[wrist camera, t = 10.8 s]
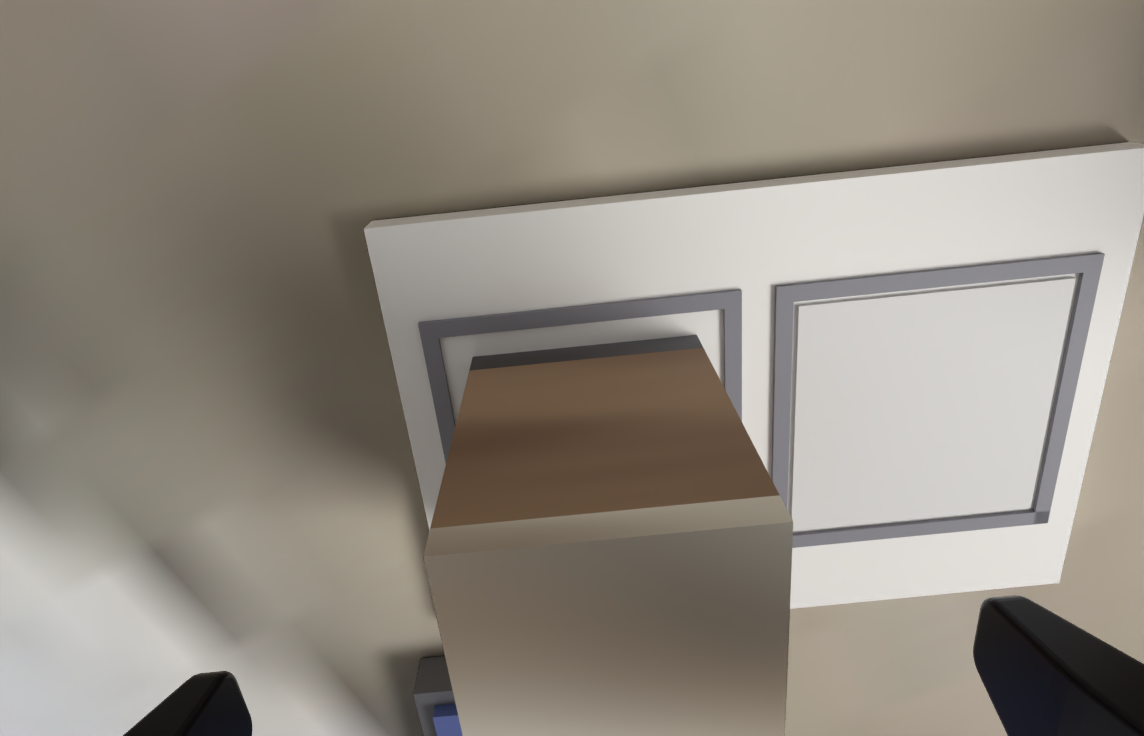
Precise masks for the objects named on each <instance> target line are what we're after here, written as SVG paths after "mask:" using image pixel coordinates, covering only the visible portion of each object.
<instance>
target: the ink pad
mask: <svg viewBox="0 0 1144 736" xmlns="http://www.w3.org/2000/svg"><path fill="white" fill-rule="evenodd" d="M413 696H414V700H415V704H416V708H417V711H418V715H419V719H420V723H421V727H422V731H423V735H424V736H463V735H462V730H461V726H460V721H459V717H458V712H457V708H456V703H455V699H454V694H453V690H452V685H451V681H450V676H449V672H448V667H447V663H446V658H445V656H441V657H430V658H421V659H420V664H419V669H418V673H417V678H416V683H415V688H414V692H413Z"/></svg>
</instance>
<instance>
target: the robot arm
mask: <svg viewBox="0 0 1144 736" xmlns="http://www.w3.org/2000/svg"><path fill="white" fill-rule="evenodd" d="M973 655H974V661H975V665H976V668H977V671H978V673H979V675H980V677H981V679H982V682H983V684H984V686H985V688H986V690H987V692H988V694H989V697H990V699H991V701H992V703H993V705H994V707H995V709H996V711H997V714H998V716H999V718H1000V720H1001V722H1002V724H1003V726H1004V728H1005V731H1006V733H1007V735H1008V736H1144V664H1143V663H1141V662H1139V661H1137V660H1136V659H1134V658H1132V657H1130V656H1129V655H1127V654H1125V653H1123V652H1122V651H1120V650H1118V649H1116V648H1114V647H1113V646H1111V645H1109V644H1107V643H1106V642H1104V641H1102V640H1100V639H1098V638H1097V637H1095V636H1093V635H1091V634H1090V633H1088V632H1086V631H1084V630H1082V629H1081V628H1079V627H1077V626H1075V625H1074V624H1072V623H1070V622H1068V621H1067V620H1065V619H1063V618H1061V617H1059V616H1058V615H1056V614H1054V613H1052V612H1051V611H1049V610H1047V609H1045V608H1043V607H1042V606H1040V605H1038V604H1036V603H1035V602H1033V601H1031V600H1029V599H1027V598H1025V597H1022V596H1016V595H1014V596H1004V597H993V598H988V599H986V600H985V601H984V602H983V603H982V605H981V608H980V613H979V619H978V624H977V630H976V636H975V641H974V647H973ZM123 736H252V721H251V716H250V714H249V711H248V708H247V706H246V703H245V701H244V698H243V696H242V693H241V691H240V688H239V686H238V683H237V681H236V679H235V677H234V675H233V674H231V673H230V672H227V671H220V672H210V673H200V674H197V675H194V676H192V677H191V678H190V679H188V680H187V681H186V682H185V683H183V684H182V685H181V686H180V687H179V688H178V689H176V690H175V691H174V692H173V693H172V694H171V695H169V696H168V697H167V698H166V699H165V700H164V701H163V702H161V703H160V704H159V705H158V706H157V707H156V708H154V709H153V710H152V711H151V712H150V713H149V714H147V715H146V716H145V717H144V718H143V719H142V720H140V721H139V722H138V723H137V724H136V725H135V726H133V727H132V728H131V729H130V730H129V731H128V732H126V733H125V734H124V735H123Z"/></svg>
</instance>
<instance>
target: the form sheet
mask: <svg viewBox="0 0 1144 736" xmlns="http://www.w3.org/2000/svg"><path fill="white" fill-rule="evenodd" d="M1143 215H1144V144H1142V143H1136V142H1126V143H1116V144H1106V145H1097V146H1087V147H1078V148H1068V149H1058V150H1049V151H1039V152H1029V153H1020V154H1010V155H1001V156H991V157H981V158H972V159H962V160H952V161H943V162H933V163H924V164H914V165H904V166H895V167H885V168H875V169H866V170H856V171H847V172H837V173H827V174H818V175H808V176H798V177H789V178H779V179H770V180H760V181H750V182H741V183H731V184H721V185H712V186H702V187H693V188H683V189H673V190H664V191H654V192H644V193H635V194H625V195H616V196H606V197H596V198H587V199H577V200H567V201H558V202H548V203H539V204H529V205H519V206H510V207H500V208H490V209H481V210H471V211H462V212H452V213H442V214H433V215H423V216H413V217H404V218H394V219H385V220H375V221H371V222H370V223H369V224H368V225H367V226H366V227H365V228H364V233H365V237H366V242H367V247H368V251H369V256H370V260H371V265H372V269H373V274H374V279H375V283H376V288H377V292H378V297H379V302H380V306H381V311H382V315H383V320H384V324H385V329H386V334H387V338H388V343H389V347H390V352H391V357H392V361H393V366H394V370H395V375H396V379H397V384H398V389H399V393H400V398H401V402H402V407H403V411H404V416H405V421H406V425H407V430H408V434H409V439H410V444H411V448H412V453H413V457H414V462H415V466H416V471H417V476H418V480H419V485H420V489H421V494H422V499H423V503H424V508H425V512H426V517H427V521H428V526H429V531H430V527H431V523H432V519H433V514H434V510H435V506H436V502H437V498H438V494H439V490H440V486H441V482H442V478H443V474H444V470H445V466H446V462H447V458H448V454H449V450H450V446H451V442H452V438H453V434H454V430H455V426H456V422H457V418H458V414H459V410H460V406H461V402H462V398H463V393H464V389H465V385H466V381H467V377H468V373H469V369H470V365H471V361H472V357H475V356H486V355H496V354H506V353H516V352H526V351H537V350H547V349H557V348H567V347H577V346H588V345H598V344H608V343H618V342H628V341H639V340H649V339H659V338H669V337H679V336H690V335H697V336H698V338H699V340H700V342H701V344H702V346H703V348H704V350H705V352H706V354H707V356H708V358H709V359H710V361H711V363H712V365H713V367H714V369H715V371H716V373H717V375H718V377H719V379H720V381H721V383H722V385H723V387H724V388H725V390H726V392H727V394H728V396H729V398H730V400H731V402H732V404H733V406H734V408H735V410H736V412H737V414H738V416H739V418H740V419H741V421H742V423H743V425H744V427H745V429H746V431H747V433H748V435H749V437H750V439H751V441H752V443H753V445H754V447H755V448H756V450H757V452H758V454H759V456H760V458H761V460H762V462H763V464H764V466H765V468H766V470H767V472H768V474H769V476H770V477H771V479H772V481H773V483H774V485H775V487H776V489H777V491H778V493H779V495H780V497H781V499H782V501H783V503H784V505H785V506H786V508H787V510H788V512H789V514H790V516H791V518H792V520H793V545H792V570H791V595H790V609H793V608H804V607H814V606H824V605H835V604H845V603H855V602H866V601H876V600H887V599H897V598H907V597H918V596H928V595H939V594H949V593H959V592H970V591H980V590H991V589H1001V588H1011V587H1022V586H1032V585H1043V584H1053V583H1059V581H1060V577H1061V572H1062V568H1063V564H1064V559H1065V555H1066V551H1067V546H1068V542H1069V538H1070V533H1071V529H1072V524H1073V520H1074V516H1075V511H1076V507H1077V503H1078V498H1079V494H1080V490H1081V485H1082V481H1083V477H1084V472H1085V468H1086V464H1087V459H1088V455H1089V450H1090V446H1091V442H1092V437H1093V433H1094V429H1095V424H1096V420H1097V416H1098V411H1099V407H1100V403H1101V398H1102V394H1103V390H1104V385H1105V381H1106V376H1107V372H1108V368H1109V363H1110V359H1111V355H1112V350H1113V346H1114V342H1115V337H1116V333H1117V329H1118V324H1119V320H1120V316H1121V311H1122V307H1123V302H1124V298H1125V294H1126V289H1127V285H1128V281H1129V276H1130V272H1131V268H1132V263H1133V259H1134V255H1135V250H1136V246H1137V242H1138V237H1139V233H1140V228H1141V224H1142V220H1143Z"/></svg>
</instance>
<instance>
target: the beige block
mask: <svg viewBox="0 0 1144 736" xmlns="http://www.w3.org/2000/svg"><path fill="white" fill-rule="evenodd" d="M792 545H793V520H792V518H791V516H790V514H789V512H788V510H787V508H786V506H785V505H784V503H783V501H782V499H781V497H780V495H779V493H778V491H777V489H776V487H775V485H774V483H773V481H772V479H771V477H770V476H769V474H768V472H767V470H766V468H765V466H764V464H763V462H762V460H761V458H760V456H759V454H758V452H757V450H756V448H755V447H754V445H753V443H752V441H751V439H750V437H749V435H748V433H747V431H746V429H745V427H744V425H743V423H742V421H741V419H740V418H739V416H738V414H737V412H736V410H735V408H734V406H733V404H732V402H731V400H730V398H729V396H728V394H727V392H726V390H725V388H724V387H723V385H722V383H721V381H720V379H719V377H718V375H717V373H716V371H715V369H714V367H713V365H712V363H711V361H710V359H709V358H708V356H707V354H706V352H705V350H704V348H703V346H702V344H701V342H700V340H699V338H698V336H697V335H690V336H679V337H669V338H659V339H649V340H639V341H628V342H618V343H608V344H598V345H588V346H577V347H567V348H557V349H547V350H537V351H526V352H516V353H506V354H496V355H486V356H475V357H472V361H471V365H470V369H469V373H468V377H467V381H466V385H465V389H464V393H463V398H462V402H461V406H460V410H459V414H458V418H457V422H456V426H455V430H454V434H453V438H452V442H451V446H450V450H449V454H448V458H447V462H446V466H445V470H444V474H443V478H442V482H441V486H440V490H439V494H438V498H437V502H436V506H435V510H434V514H433V519H432V523H431V527H430V531H429V535H428V539H427V543H426V547H425V551H424V555H423V559H424V564H425V568H426V573H427V577H428V582H429V586H430V591H431V595H432V600H433V604H434V609H435V613H436V618H437V622H438V627H439V631H440V636H441V640H442V645H443V649H444V654H445V658H446V663H447V667H448V672H449V676H450V681H451V685H452V690H453V694H454V699H455V703H456V708H457V712H458V717H459V721H460V726H461V730H462V735H463V736H785V721H786V695H787V670H788V645H789V620H790V595H791V570H792Z"/></svg>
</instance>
